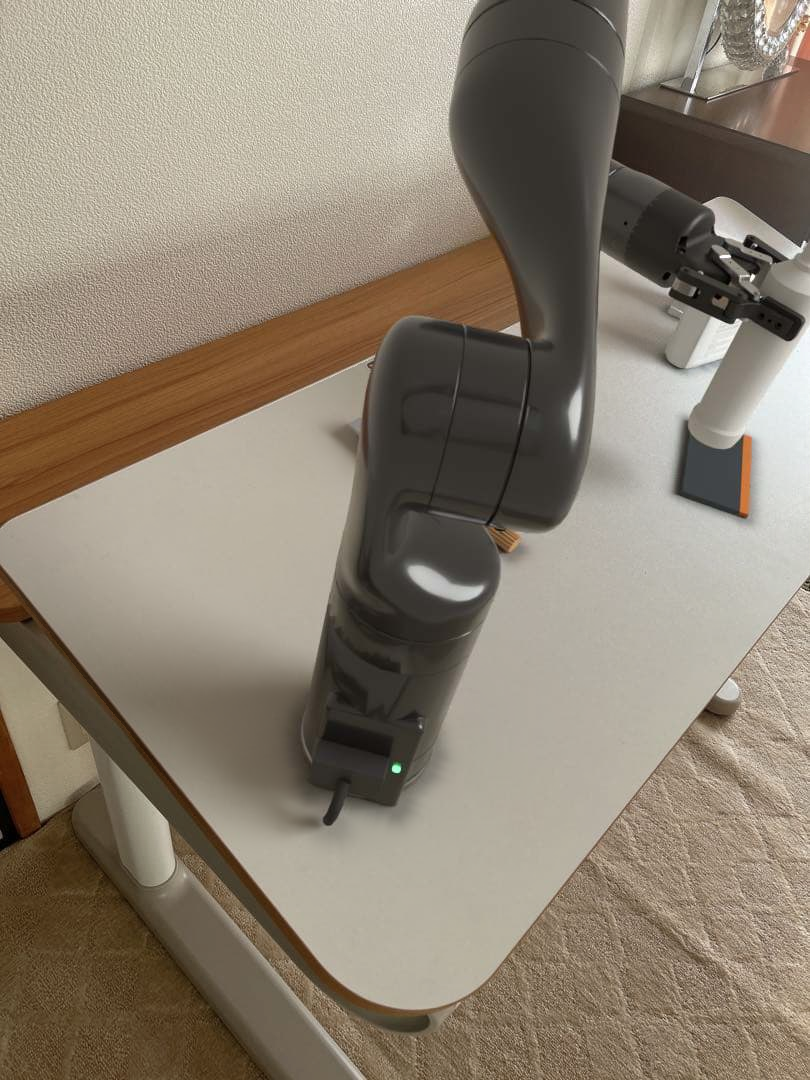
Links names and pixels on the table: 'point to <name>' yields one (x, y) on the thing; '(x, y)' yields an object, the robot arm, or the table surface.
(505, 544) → the paintbrush
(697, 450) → the mat
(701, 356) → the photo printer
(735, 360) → the bottle
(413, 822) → the table surface
